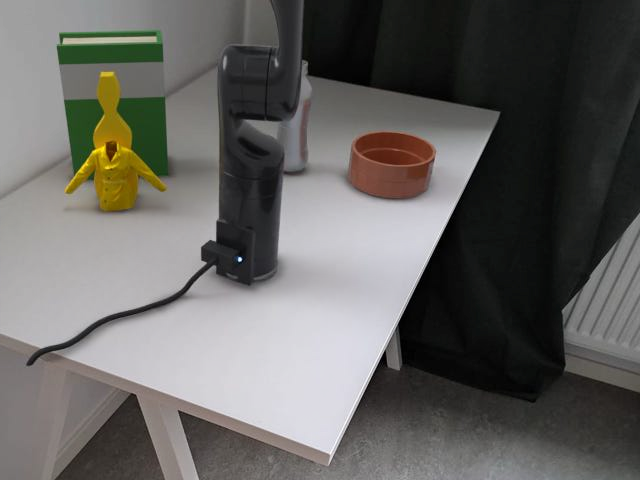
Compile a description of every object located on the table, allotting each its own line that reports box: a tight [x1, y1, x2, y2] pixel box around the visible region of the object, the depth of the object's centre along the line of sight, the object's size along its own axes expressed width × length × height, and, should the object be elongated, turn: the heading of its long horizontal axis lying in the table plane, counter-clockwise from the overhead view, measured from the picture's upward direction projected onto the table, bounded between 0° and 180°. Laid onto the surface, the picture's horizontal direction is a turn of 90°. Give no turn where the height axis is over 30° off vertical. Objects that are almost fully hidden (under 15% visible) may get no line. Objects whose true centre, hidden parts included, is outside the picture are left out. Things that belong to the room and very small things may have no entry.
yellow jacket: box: [64, 72, 168, 212], centre depth 121 cm, size 18×8×22 cm, turn 93°
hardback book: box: [56, 29, 169, 180], centre depth 131 cm, size 18×7×24 cm, turn 96°
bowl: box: [347, 130, 437, 199], centre depth 134 cm, size 15×15×6 cm
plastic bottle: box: [276, 59, 314, 173], centre depth 133 cm, size 6×7×20 cm
